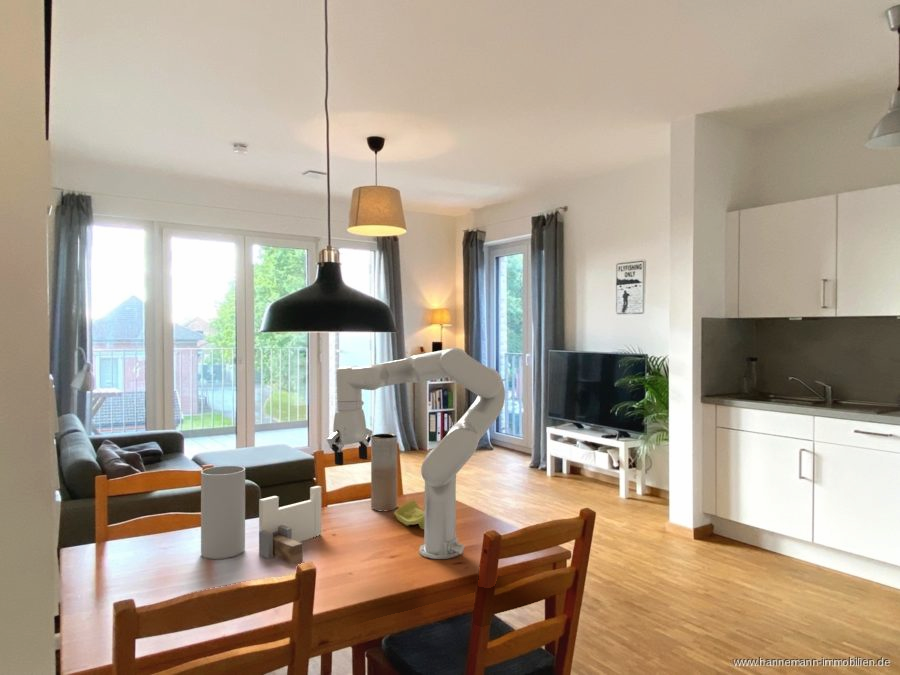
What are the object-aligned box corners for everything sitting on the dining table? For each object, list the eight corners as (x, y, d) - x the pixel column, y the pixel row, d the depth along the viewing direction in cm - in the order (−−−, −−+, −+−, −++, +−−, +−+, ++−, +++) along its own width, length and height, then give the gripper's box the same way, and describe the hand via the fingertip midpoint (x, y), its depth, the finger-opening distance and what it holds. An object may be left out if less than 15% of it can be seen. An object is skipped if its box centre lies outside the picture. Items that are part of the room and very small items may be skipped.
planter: (388, 502, 231) (388, 432, 231) (401, 508, 223) (402, 436, 223) (366, 507, 225) (366, 435, 225) (379, 513, 217) (379, 438, 217)
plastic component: (392, 512, 211) (415, 497, 215) (401, 529, 211) (423, 514, 215) (411, 523, 193) (436, 507, 197) (421, 543, 193) (445, 526, 197)
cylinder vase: (222, 562, 169) (222, 476, 169) (191, 556, 174) (191, 472, 174) (253, 548, 180) (254, 468, 180) (223, 542, 185) (224, 464, 185)
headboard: (330, 538, 189) (330, 489, 189) (268, 558, 172) (268, 504, 172) (317, 533, 194) (317, 485, 194) (255, 553, 176) (255, 500, 176)
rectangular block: (302, 560, 170) (302, 540, 170) (292, 564, 168) (292, 543, 168) (277, 550, 179) (277, 531, 179) (267, 553, 176) (267, 534, 176)
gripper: (362, 403, 189) (364, 455, 189) (319, 408, 175) (321, 465, 175) (378, 404, 184) (380, 458, 184) (335, 410, 170) (337, 468, 170)
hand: (351, 461), depth 179 cm, fingers open, 9 cm apart
